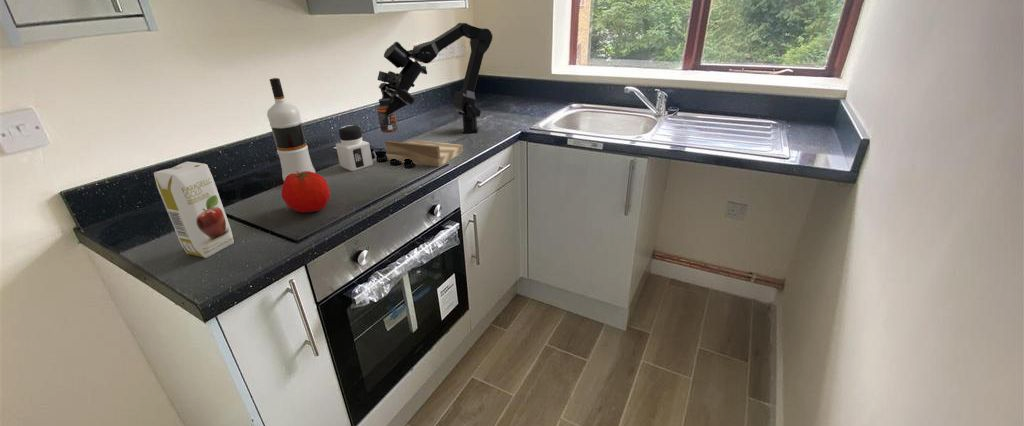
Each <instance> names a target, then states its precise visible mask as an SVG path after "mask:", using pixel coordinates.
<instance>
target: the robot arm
mask: <svg viewBox="0 0 1024 426" xmlns="http://www.w3.org/2000/svg"><path fill="white" fill-rule="evenodd" d="M463 37H465V38H467V39H470V41H469V45H470V55H469V58H468V63H467V68H466V71H465V76H464V78H463V82H462V87H461V89H460V90H459V91H455V92H454V99H453V100H452V102H453V107H454V109H455V110H456V111H457V113H458V115H460V116H461V119H462V130H461V133H462V134H463V133H464V134H466V133H467V134H469V133H473V134H474V133H475V134H476V133H478V132H479V130H480V127H478V119H477V118H479V117H480V116H481V113H482V111H481V110H480V109H479V108H478V107H477V106H476V95H475V91H476V90H475V89H476V86H477V82H478V78H479V73H480V71H481V66H482V61H483V59H484V55H485V53H486V52H487V51H488V50H489V49H490V46H491V43H492V41H493V38H494V37H493V33H492V31H491V30H490V29H489V28H486V27H485V28H484V27H482V28H481V27H477V26H473V25H470V24H469V23H467V22H458V23H457V24H456V25H454V26H453V27H451V28H450V29H449V30H447V31H445V32H443V33H441V34H440V35H438V36H437V37H435V38H434V39H432V40H430V41H426V42H422V43H419V44H417V45H415V46H414V47H413V48H412V49H409V50H407V49H406V48H404V47H403V45H401V43H400V42H399V41H395V42H393V44H391V45H390V46H389V47H387V49H386V50H385V51H384V53H383V58H385V59H386V60H387V61H388V62H389V63H391V64H392V65H393V66H394V67H395V68H396V69H399V68H401V71H400V72H399V73H398V72H397V73H396V72H394V71H391V70H389V71H388V72H384V71H382V70H379V72H378V74H377V75H378V76H377V81H380V82H381V83H380V84H379V86H378V89H380V92H381V95H382V96H381V99H383V98H390V99H391V102H390V104H389V106H388V108H387V110H386V112H385V114H386V115H387V116H388V115H390V114H391V113H393V112H395V113H396V111H399V110H400V109H401V108H403V107H405V106H407V105H411V106H412V105H413V103H414V102H415V97H414V95H412V94H411V93H410V92H409V90H410V89H411V88H414V87H415V86H416V85H415V82H416V80H417V79H418V77H419V76H420V74H423V75H428V71H427V66H425V65H421V63H423V64H430V63H431V62H433V61H434V59H436V58H437V56H438V55H439V53H440V52H441V51H442V50H444V49H446V48H447V47H448V46H450V45H451V44H454V43H455V42H456V41H458V40H460V39H461V38H463ZM412 59H414V61H413V60H412Z"/></svg>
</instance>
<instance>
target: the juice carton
mask: <svg viewBox="0 0 1024 426" xmlns="http://www.w3.org/2000/svg"><path fill="white" fill-rule="evenodd" d="M153 176H154V180H155V183H156V188H157V190H158V193H159V195H160V197H161V200H162V203H163V205H164V207H165V211H166V212H167V214H168V217H169V220H170V221H171V222H170V223H171V224H172V226H173V229H174V230H175V233H176V236H177V238H178V241H179V243H180V245H181V247H182V248H183V250H184V251H185V252H186V254H187V255H190V256H191V255H192V256H195V257H200V258H205V259H206V258H210V257H212V256H213V255H215V254H217V253H218V252H220V251H222V250H224V249H226V248H228V247H230V246H231V245H233V244H234V243H235V242H234V236H233V232H232V229H231V225H230V223H229V220H228V216H227V214H226V211H225V208H224V206H223V203H222V200H221V197H220V194H219V192H218V188H217V185H216V182H215V180H214V177H213V175H212V172H211V170H210V168H209V166H208V164H206V163H202V162H194V161H184V162H182V163H179V164H177V165H175V166H173V167H170V168H165V169H161V170H158V171H154V172H153Z"/></svg>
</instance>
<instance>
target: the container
mask: <svg viewBox="0 0 1024 426" xmlns="http://www.w3.org/2000/svg"><path fill="white" fill-rule="evenodd" d="M338 134H339V138H340V139H339V140H340V142H338V143H335V146H336V147H335V148H336V152H337V153H336V154H337V156H338V161H339V167H341V168H344V169H346V170H348V171H350V172H355V171H358V170H361V169H364V168H368V167H371V166H373V164H374V163H373V157H372V152H371V147H370V143H369V142H367V141H365V140H363V136H362V135H363V134H362V130H361V127H360V126H358V125H354V124H352V125H351V124H350V125H345V126H342V127H340V128H339V129H338Z"/></svg>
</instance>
